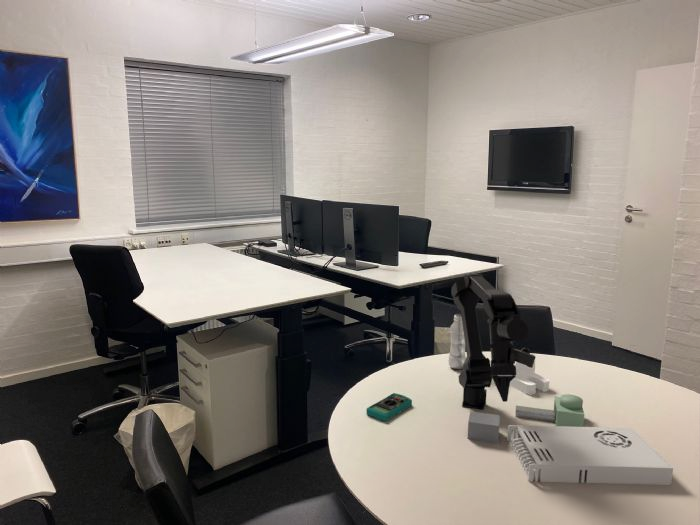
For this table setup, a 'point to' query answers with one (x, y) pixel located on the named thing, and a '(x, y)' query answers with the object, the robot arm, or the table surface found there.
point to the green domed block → (557, 411)
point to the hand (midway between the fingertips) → (504, 398)
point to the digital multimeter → (389, 406)
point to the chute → (483, 427)
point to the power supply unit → (588, 455)
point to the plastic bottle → (457, 344)
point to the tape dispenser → (528, 380)
